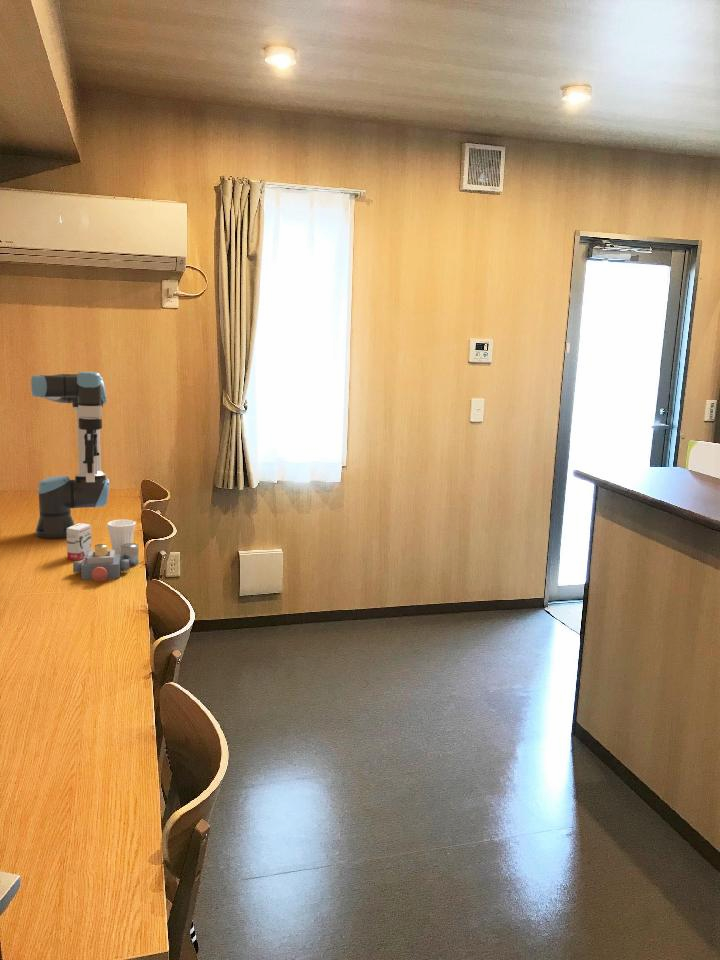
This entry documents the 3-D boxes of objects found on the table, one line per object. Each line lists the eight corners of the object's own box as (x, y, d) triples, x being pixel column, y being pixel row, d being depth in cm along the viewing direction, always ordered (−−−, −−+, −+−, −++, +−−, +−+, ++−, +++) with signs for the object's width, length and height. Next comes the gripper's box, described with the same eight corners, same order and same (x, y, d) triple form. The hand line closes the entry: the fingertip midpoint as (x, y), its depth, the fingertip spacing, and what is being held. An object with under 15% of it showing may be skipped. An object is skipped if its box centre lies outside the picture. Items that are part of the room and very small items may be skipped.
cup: (141, 554, 266) (141, 521, 264) (125, 562, 257) (124, 527, 255) (119, 551, 270) (118, 518, 267) (102, 558, 260) (101, 524, 258)
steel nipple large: (121, 561, 258) (121, 543, 256) (138, 561, 259) (138, 542, 258) (120, 567, 252) (120, 548, 251) (138, 566, 254) (138, 547, 252)
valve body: (75, 569, 248) (75, 549, 247) (129, 566, 253) (129, 547, 252) (70, 584, 233) (69, 564, 232) (128, 581, 238) (127, 561, 237)
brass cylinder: (95, 569, 246) (95, 544, 244) (107, 568, 247) (107, 543, 245) (95, 572, 242) (94, 547, 240) (107, 572, 243) (106, 547, 242)
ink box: (79, 561, 257) (77, 529, 254) (66, 559, 257) (65, 528, 255) (92, 554, 265) (91, 523, 262) (80, 552, 266) (79, 522, 263)
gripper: (82, 413, 253) (84, 471, 258) (74, 422, 230) (76, 485, 234) (104, 413, 256) (105, 471, 260) (99, 422, 232) (100, 485, 236)
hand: (92, 478), depth 247 cm, fingers open, 13 cm apart
